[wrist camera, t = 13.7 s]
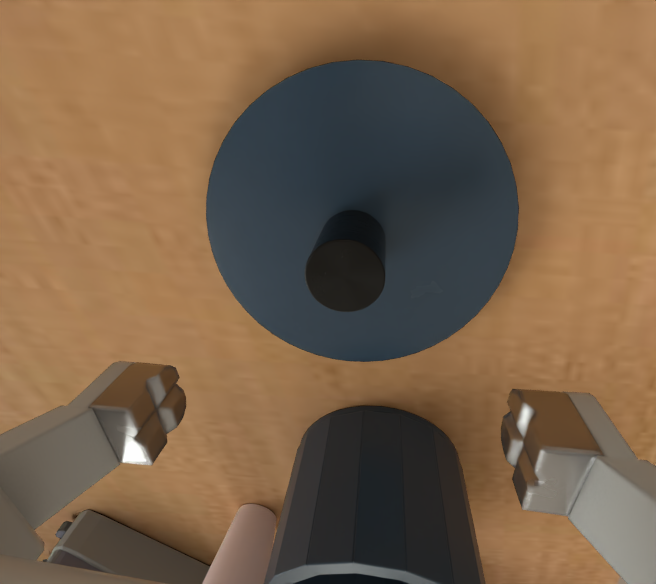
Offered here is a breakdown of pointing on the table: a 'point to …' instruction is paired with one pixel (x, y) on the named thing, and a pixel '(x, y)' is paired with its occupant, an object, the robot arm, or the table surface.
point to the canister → (375, 505)
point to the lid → (362, 210)
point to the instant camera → (122, 552)
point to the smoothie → (245, 548)
